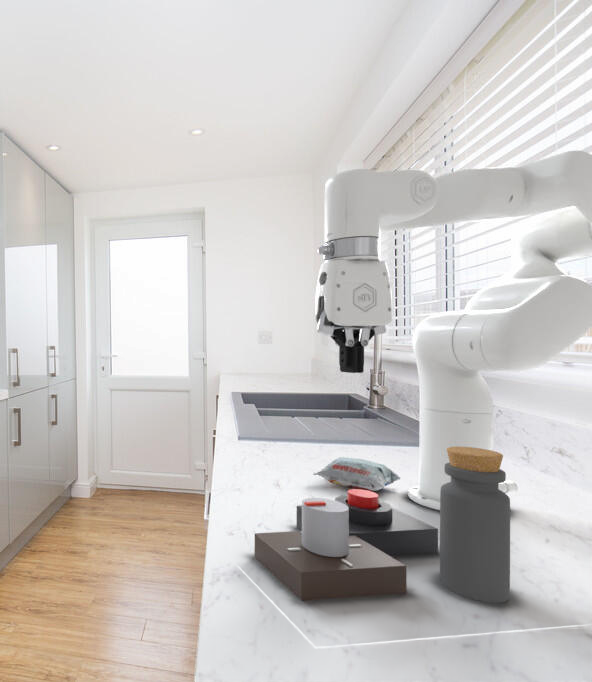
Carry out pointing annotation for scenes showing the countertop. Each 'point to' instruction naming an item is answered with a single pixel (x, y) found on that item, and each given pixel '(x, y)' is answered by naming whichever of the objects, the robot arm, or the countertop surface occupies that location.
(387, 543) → the push button base
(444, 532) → the bottle
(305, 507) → the dial
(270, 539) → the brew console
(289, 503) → the countertop surface
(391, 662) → the countertop surface
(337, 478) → the packaged food
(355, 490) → the power button
